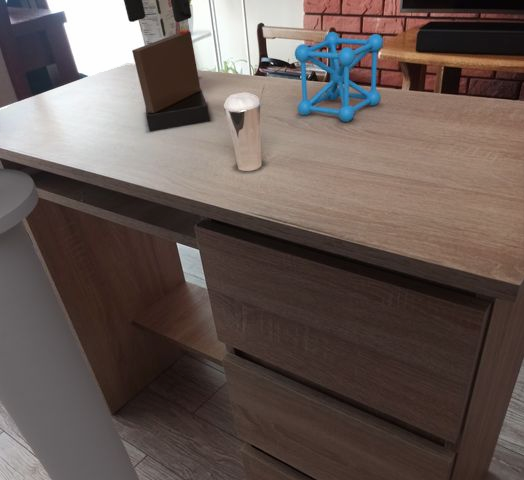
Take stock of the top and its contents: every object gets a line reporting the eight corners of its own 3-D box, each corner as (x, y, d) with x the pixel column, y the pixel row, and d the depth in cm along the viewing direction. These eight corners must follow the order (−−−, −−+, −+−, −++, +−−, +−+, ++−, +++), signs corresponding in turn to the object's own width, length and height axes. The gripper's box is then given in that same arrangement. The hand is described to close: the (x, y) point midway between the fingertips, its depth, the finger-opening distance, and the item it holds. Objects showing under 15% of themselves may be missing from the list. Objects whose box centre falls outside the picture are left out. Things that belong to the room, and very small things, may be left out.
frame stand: (149, 131, 85) (145, 115, 83) (148, 113, 92) (144, 98, 91) (209, 121, 86) (207, 105, 84) (203, 103, 93) (201, 88, 91)
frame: (153, 113, 84) (138, 48, 77) (146, 112, 84) (131, 48, 78) (200, 90, 90) (190, 29, 84) (193, 89, 91) (183, 29, 85)
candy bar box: (177, 78, 108) (158, -17, 97) (199, 77, 107) (182, -20, 96) (154, 95, 100) (131, -6, 89) (177, 95, 99) (157, -8, 88)
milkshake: (269, 173, 68) (261, 90, 61) (229, 174, 69) (217, 93, 62) (274, 158, 71) (267, 79, 64) (237, 160, 72) (226, 82, 65)
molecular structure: (383, 104, 83) (386, 32, 76) (348, 125, 78) (349, 50, 71) (330, 97, 88) (329, 29, 82) (295, 116, 83) (291, 45, 76)
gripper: (63, -120, 70) (104, 25, 82) (156, -139, 62) (186, 26, 73) (104, -125, 75) (137, 14, 86) (195, -143, 66) (218, 14, 78)
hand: (159, 19), depth 80 cm, fingers open, 9 cm apart
